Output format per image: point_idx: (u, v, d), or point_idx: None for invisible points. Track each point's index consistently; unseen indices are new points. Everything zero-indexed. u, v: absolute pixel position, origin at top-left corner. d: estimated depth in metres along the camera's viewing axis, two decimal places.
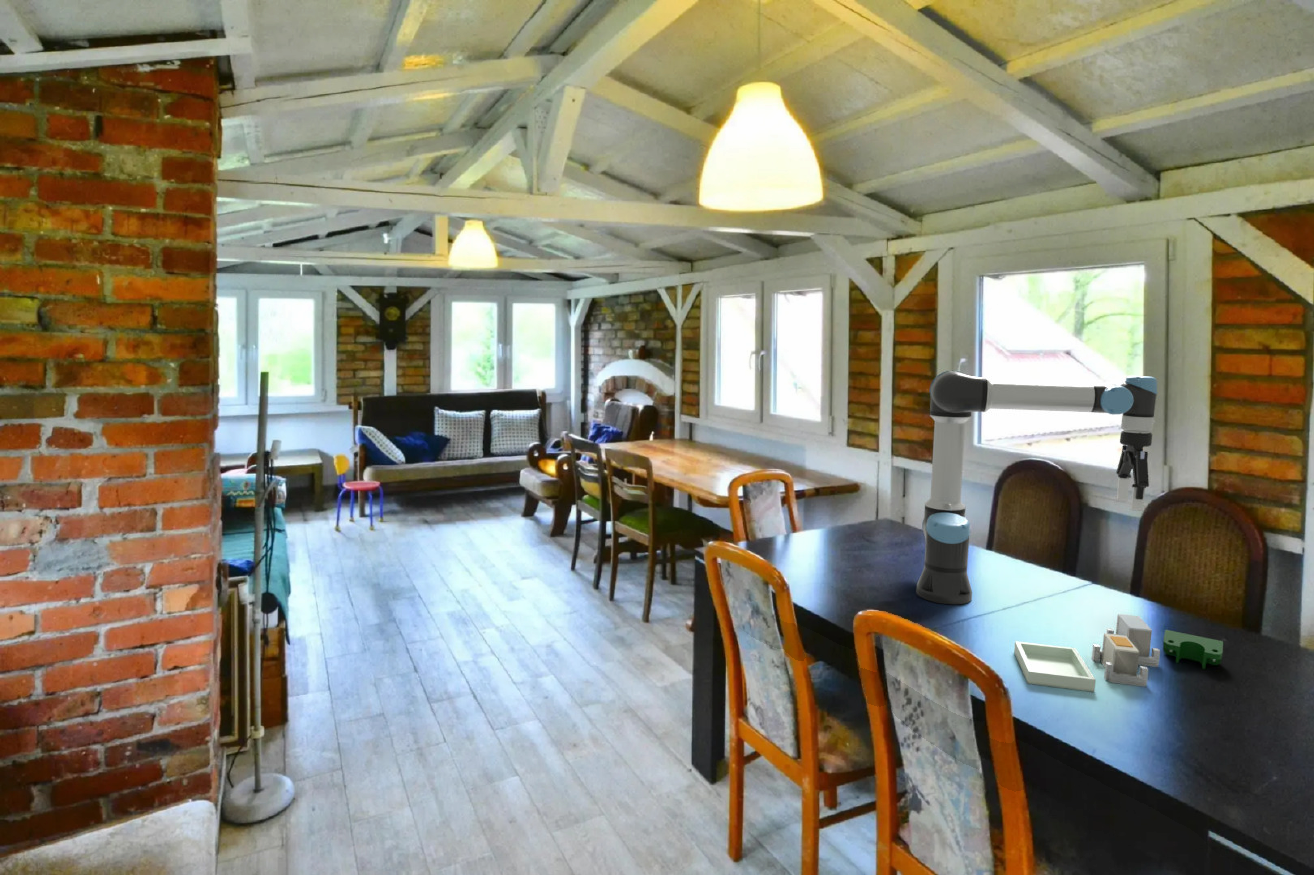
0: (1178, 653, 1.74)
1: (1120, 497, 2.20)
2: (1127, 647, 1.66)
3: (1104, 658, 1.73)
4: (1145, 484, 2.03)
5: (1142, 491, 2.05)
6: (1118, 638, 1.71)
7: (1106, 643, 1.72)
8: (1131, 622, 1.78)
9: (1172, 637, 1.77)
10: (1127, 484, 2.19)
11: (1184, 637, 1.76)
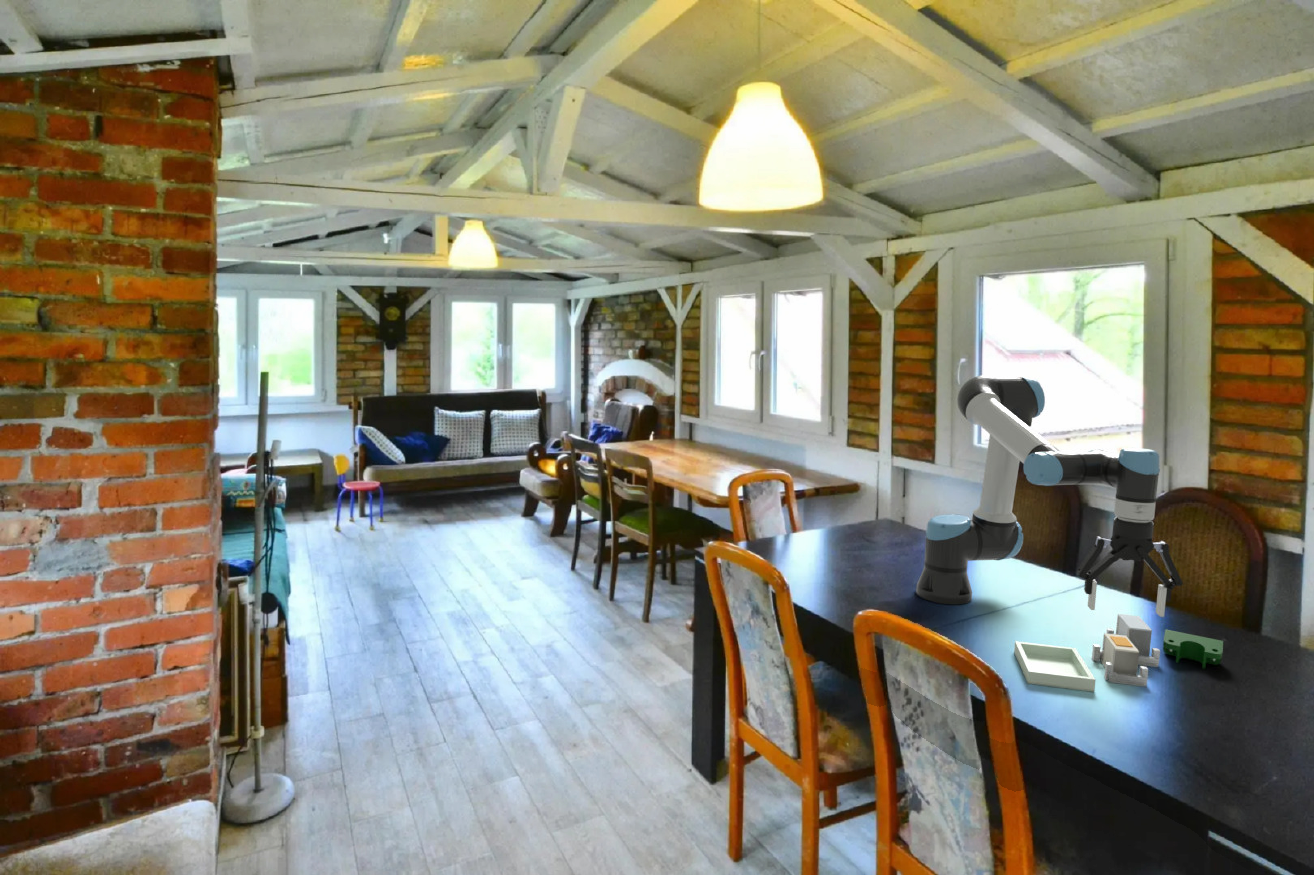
0: (1178, 653, 1.75)
1: (1157, 609, 1.67)
2: (1127, 647, 1.66)
3: (1104, 658, 1.73)
4: (1078, 573, 1.69)
5: (1086, 583, 1.69)
6: (1118, 638, 1.71)
7: (1106, 643, 1.72)
8: (1131, 622, 1.78)
9: (1172, 636, 1.77)
10: (1161, 594, 1.65)
11: (1184, 636, 1.77)
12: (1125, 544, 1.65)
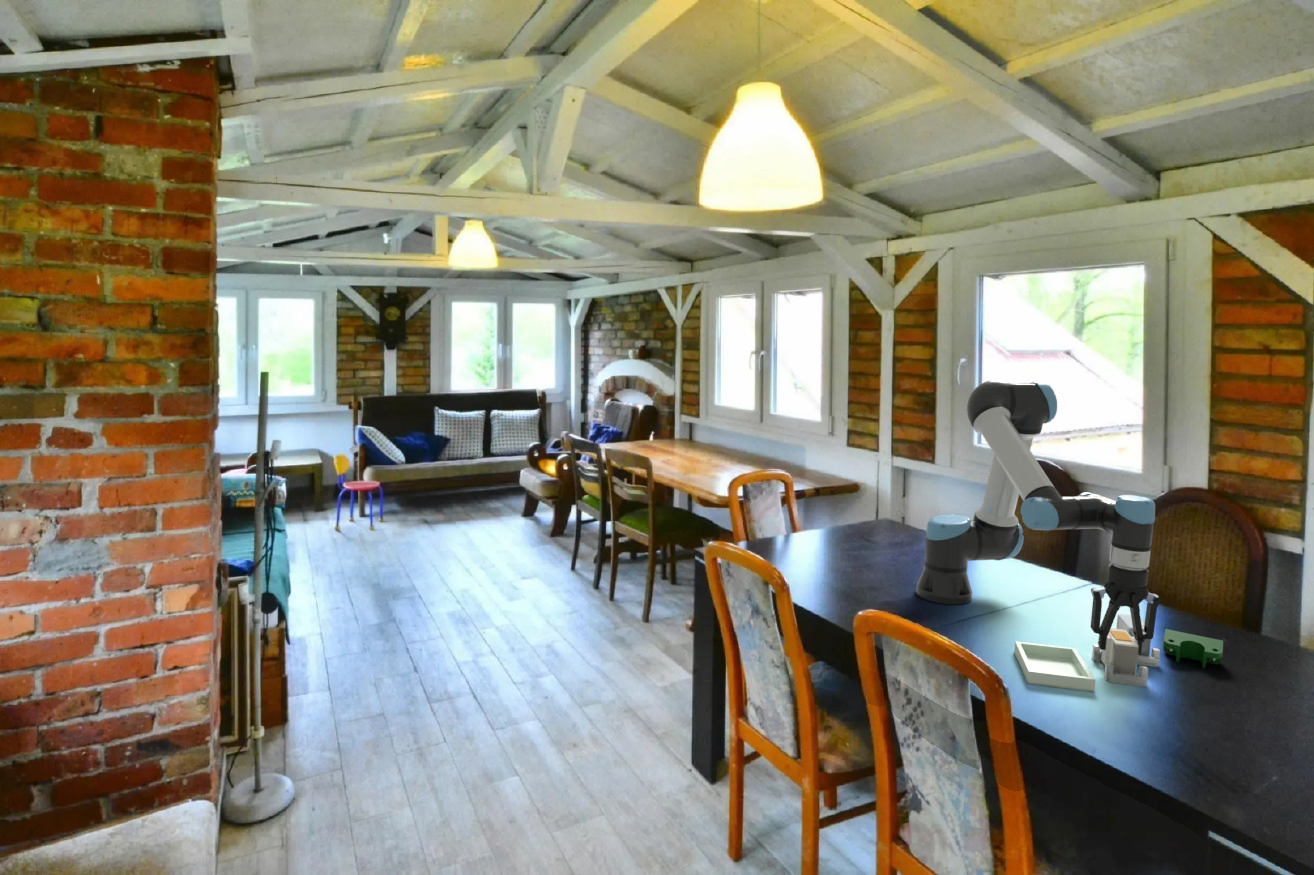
0: (1178, 652, 1.75)
1: None
2: (1126, 641, 1.66)
3: None
4: (1092, 629, 1.70)
5: (1100, 639, 1.70)
6: (1118, 632, 1.71)
7: None
8: (1131, 622, 1.78)
9: (1173, 636, 1.77)
10: None
11: (1184, 636, 1.77)
12: (1118, 591, 1.67)
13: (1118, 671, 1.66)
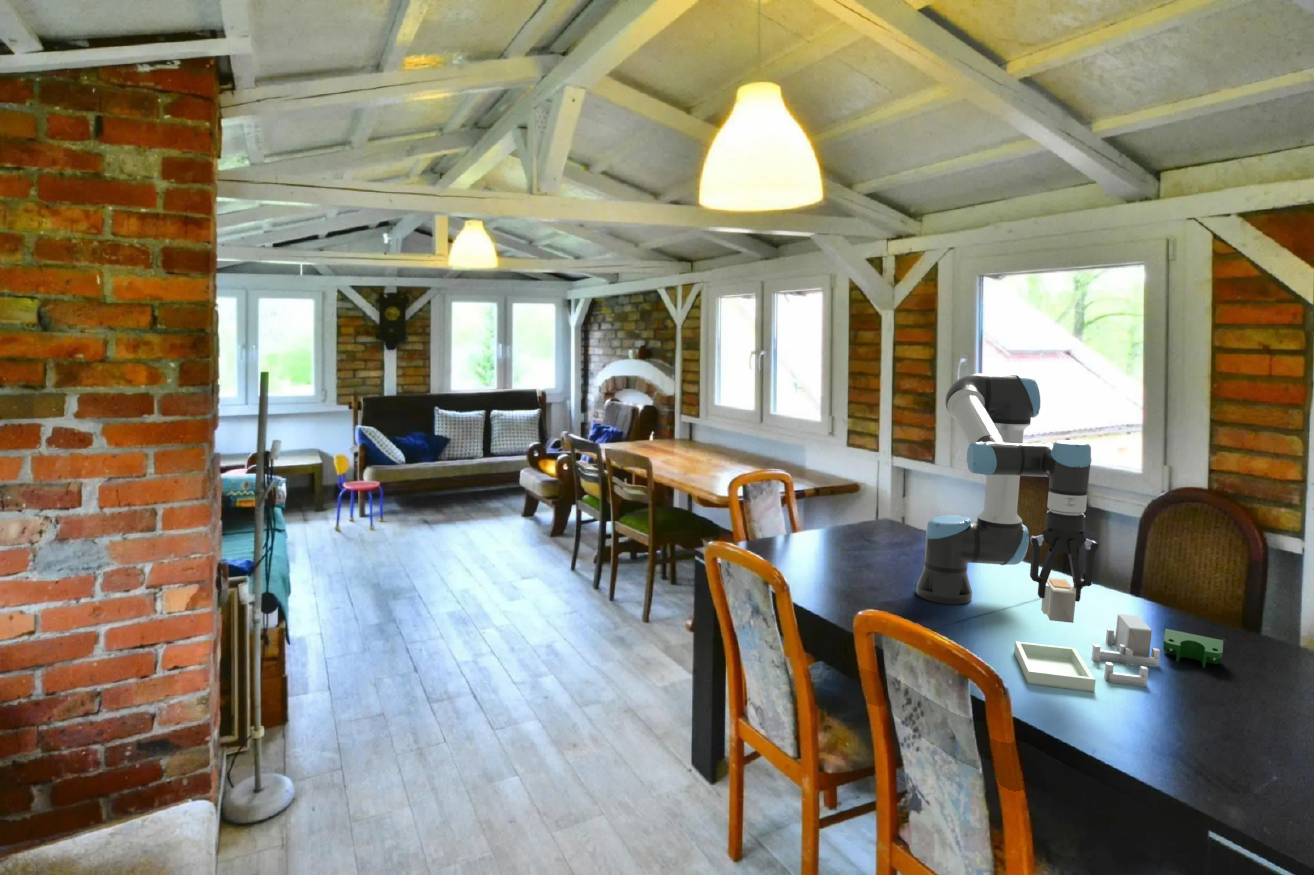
0: (1178, 652, 1.75)
1: None
2: (1065, 588, 1.64)
3: None
4: (1031, 578, 1.68)
5: (1039, 587, 1.68)
6: (1057, 581, 1.69)
7: None
8: (1131, 622, 1.78)
9: (1173, 636, 1.78)
10: None
11: (1184, 636, 1.77)
12: (1056, 537, 1.65)
13: (1056, 618, 1.64)
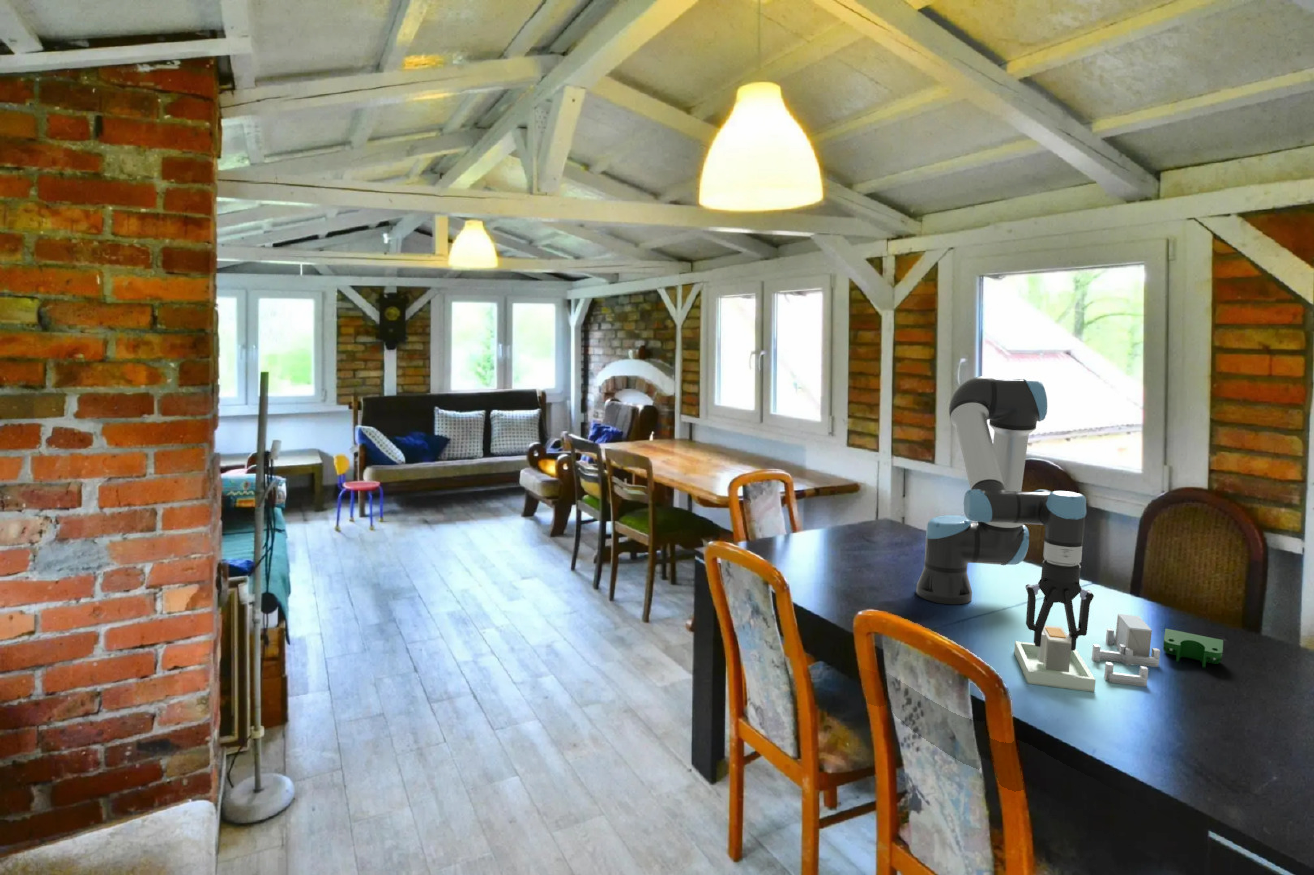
0: (1178, 652, 1.75)
1: None
2: (1060, 638, 1.66)
3: None
4: (1027, 626, 1.70)
5: (1035, 636, 1.69)
6: (1053, 629, 1.70)
7: None
8: (1131, 622, 1.78)
9: (1173, 636, 1.78)
10: None
11: (1184, 636, 1.77)
12: (1051, 587, 1.67)
13: (1052, 667, 1.66)
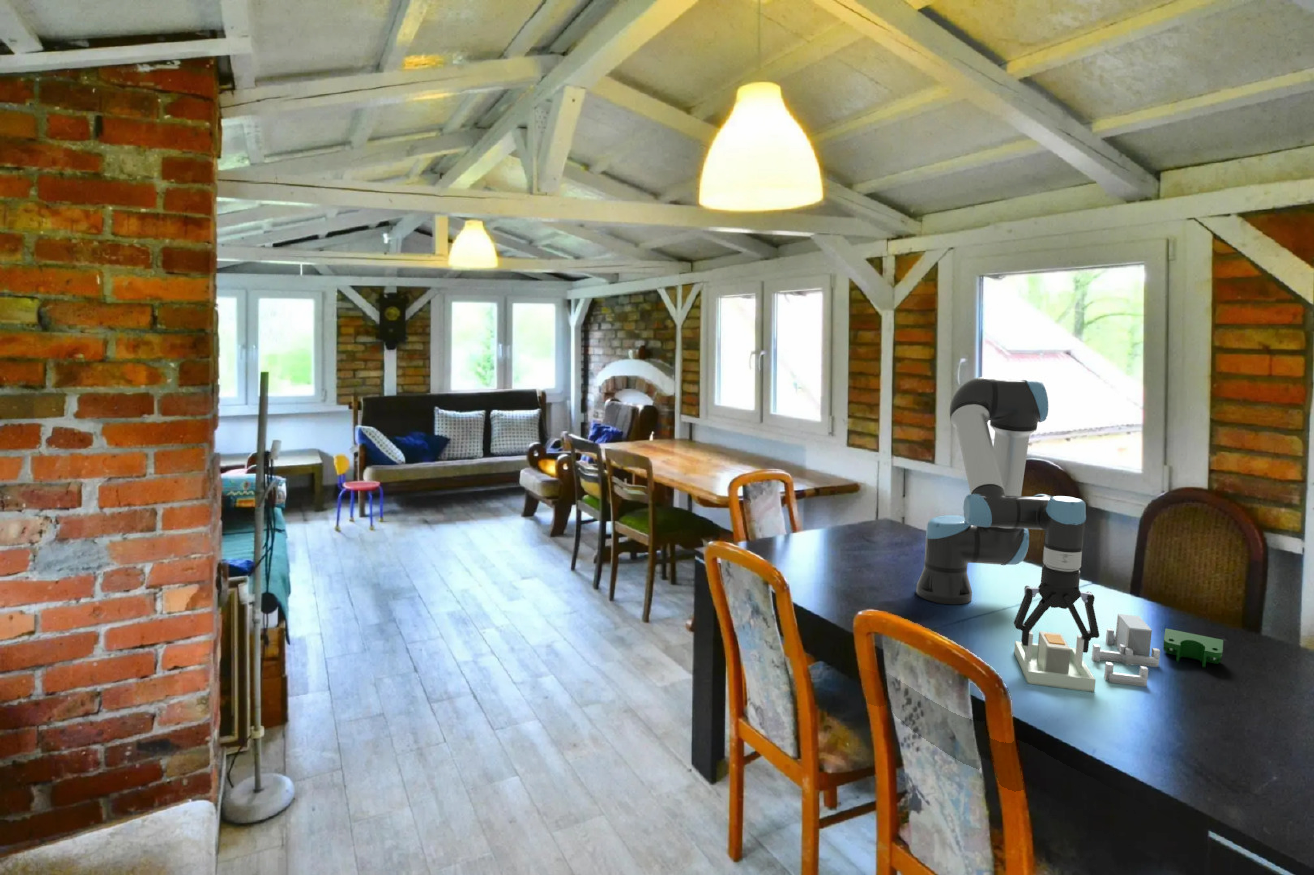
0: (1178, 652, 1.75)
1: (1075, 660, 1.69)
2: (1059, 645, 1.66)
3: (1038, 655, 1.73)
4: (1015, 625, 1.70)
5: (1022, 635, 1.70)
6: (1052, 636, 1.70)
7: (1040, 641, 1.72)
8: (1131, 622, 1.78)
9: (1173, 636, 1.78)
10: (1079, 646, 1.67)
11: (1184, 636, 1.77)
12: (1052, 592, 1.67)
13: None
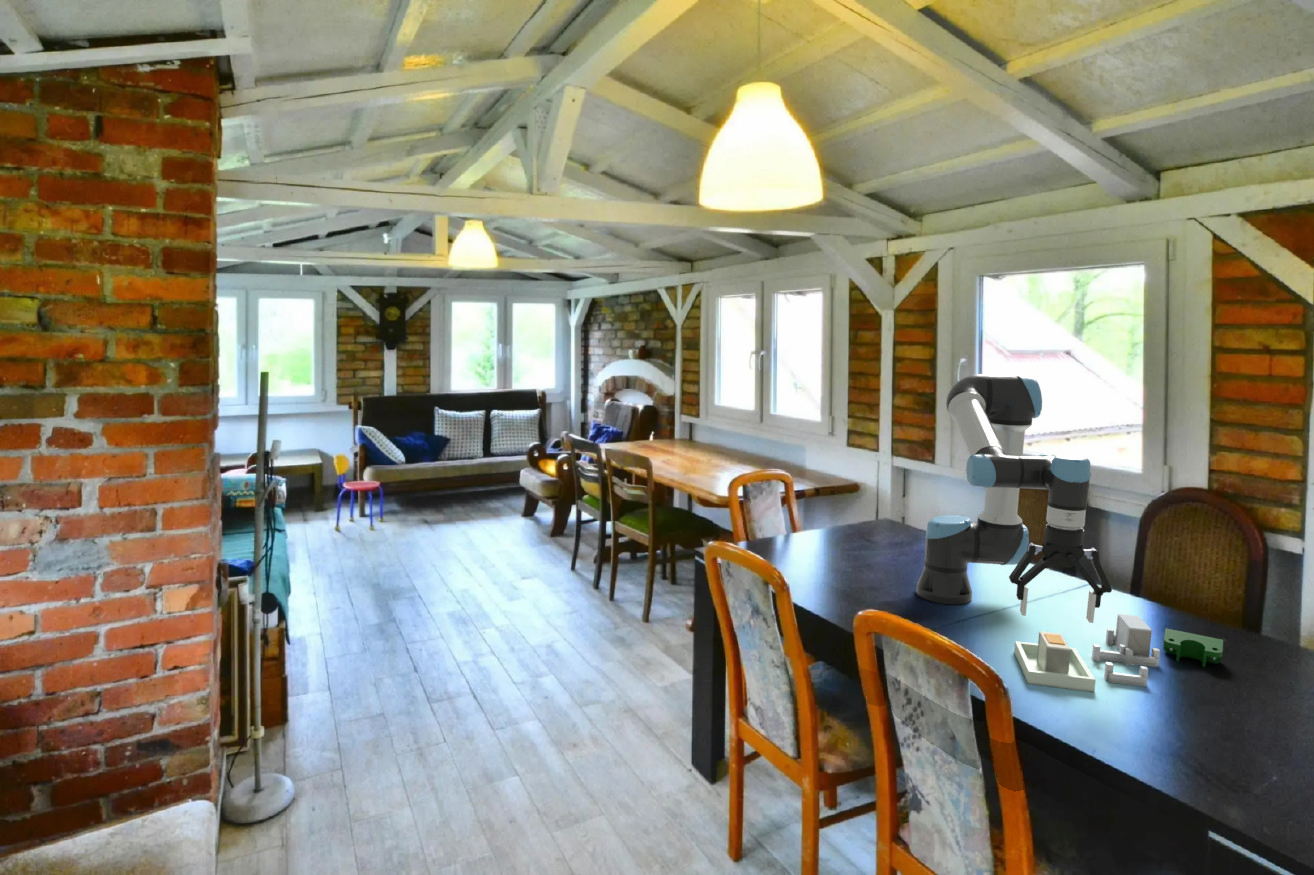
0: (1178, 651, 1.75)
1: (1087, 615, 1.67)
2: (1059, 645, 1.66)
3: (1038, 655, 1.73)
4: (1010, 579, 1.70)
5: (1017, 589, 1.70)
6: (1052, 636, 1.70)
7: (1040, 641, 1.72)
8: (1131, 622, 1.78)
9: (1173, 635, 1.78)
10: (1091, 601, 1.65)
11: (1184, 635, 1.77)
12: (1056, 551, 1.65)
13: None
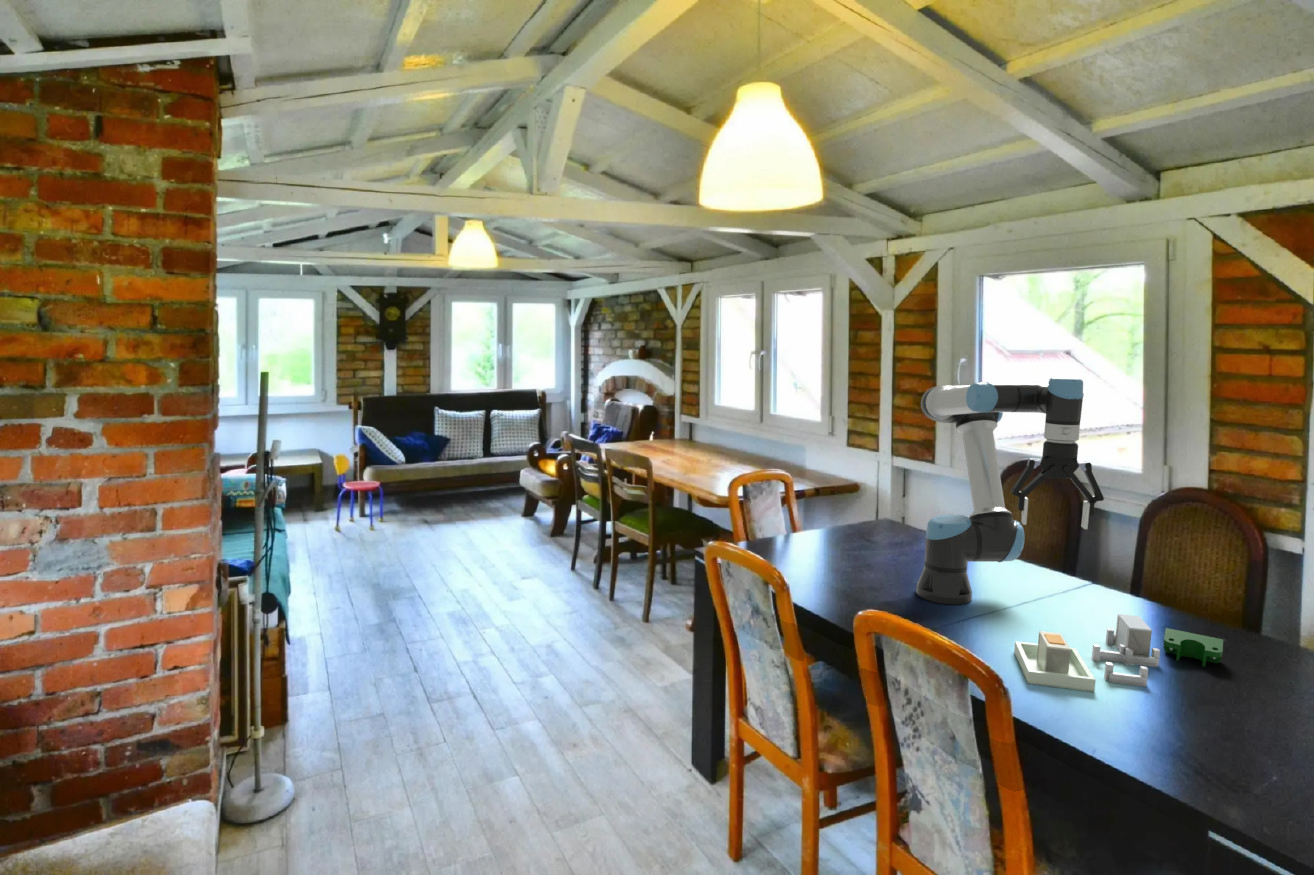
0: (1178, 651, 1.75)
1: (1082, 523, 1.84)
2: (1059, 645, 1.66)
3: (1038, 655, 1.73)
4: (1012, 491, 1.87)
5: (1019, 501, 1.87)
6: (1052, 636, 1.70)
7: (1040, 641, 1.72)
8: (1131, 622, 1.78)
9: (1173, 635, 1.78)
10: (1085, 509, 1.82)
11: (1184, 635, 1.78)
12: (1053, 464, 1.83)
13: None
